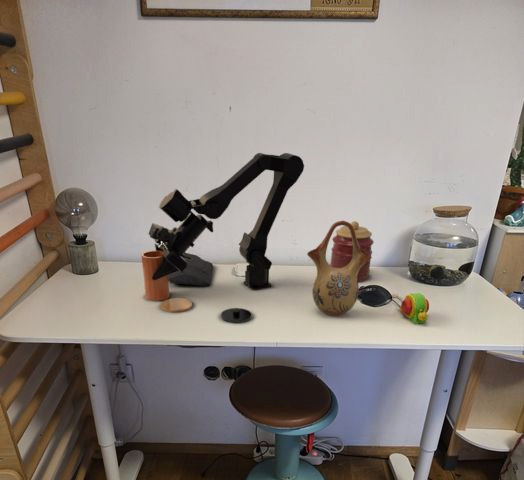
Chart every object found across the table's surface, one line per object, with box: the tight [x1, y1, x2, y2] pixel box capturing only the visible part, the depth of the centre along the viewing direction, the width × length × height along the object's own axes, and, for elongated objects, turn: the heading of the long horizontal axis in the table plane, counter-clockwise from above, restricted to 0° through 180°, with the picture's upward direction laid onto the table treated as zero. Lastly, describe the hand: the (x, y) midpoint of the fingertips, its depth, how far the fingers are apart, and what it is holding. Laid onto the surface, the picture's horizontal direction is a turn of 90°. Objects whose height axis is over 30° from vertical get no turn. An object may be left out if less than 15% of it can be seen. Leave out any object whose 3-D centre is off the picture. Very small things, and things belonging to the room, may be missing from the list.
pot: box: [141, 250, 170, 302], centre depth 131 cm, size 7×7×12 cm
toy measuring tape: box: [390, 292, 430, 324], centre depth 128 cm, size 6×20×7 cm, turn 9°
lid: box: [220, 307, 252, 324], centre depth 123 cm, size 8×8×2 cm
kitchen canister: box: [329, 220, 375, 282], centre depth 149 cm, size 13×13×18 cm
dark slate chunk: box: [168, 252, 214, 287], centre depth 149 cm, size 15×22×5 cm
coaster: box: [160, 297, 193, 313], centre depth 129 cm, size 8×8×1 cm
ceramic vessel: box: [306, 220, 372, 317], centre depth 121 cm, size 16×9×25 cm, turn 85°
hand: (150, 275), depth 131 cm, fingers closed on pot, 7 cm apart
